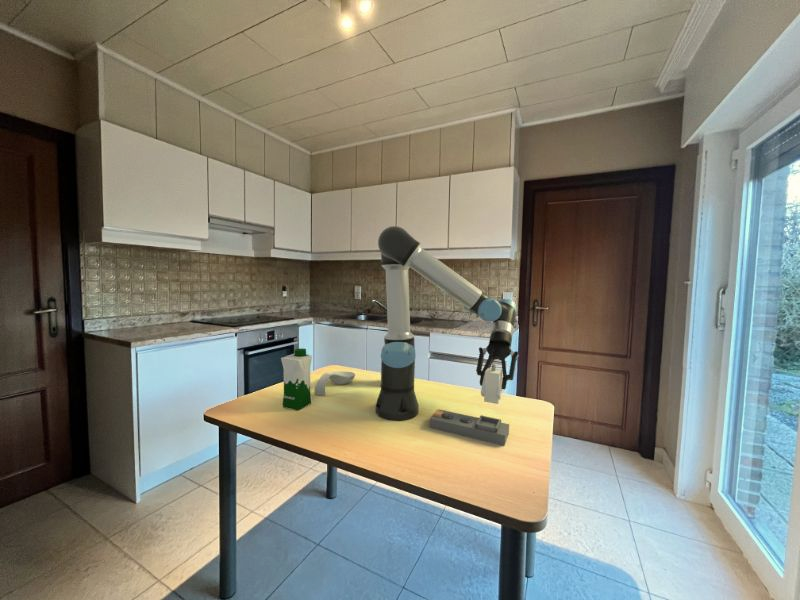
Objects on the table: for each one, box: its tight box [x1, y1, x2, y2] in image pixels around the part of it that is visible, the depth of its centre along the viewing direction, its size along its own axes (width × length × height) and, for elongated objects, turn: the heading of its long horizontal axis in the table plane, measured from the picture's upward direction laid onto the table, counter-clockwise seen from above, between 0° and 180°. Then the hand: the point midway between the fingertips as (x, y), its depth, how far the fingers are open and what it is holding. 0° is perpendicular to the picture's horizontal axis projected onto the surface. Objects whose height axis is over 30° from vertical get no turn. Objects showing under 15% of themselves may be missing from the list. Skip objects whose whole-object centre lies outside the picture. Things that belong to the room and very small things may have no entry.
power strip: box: [429, 409, 510, 446], centre depth 104 cm, size 23×8×4 cm, turn 64°
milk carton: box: [280, 348, 313, 411], centre depth 120 cm, size 9×9×20 cm
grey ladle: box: [314, 370, 356, 397], centre depth 141 cm, size 24×12×7 cm, turn 162°
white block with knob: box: [483, 363, 503, 405], centre depth 110 cm, size 4×5×12 cm
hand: (490, 395), depth 107 cm, fingers closed on white block with knob, 4 cm apart
